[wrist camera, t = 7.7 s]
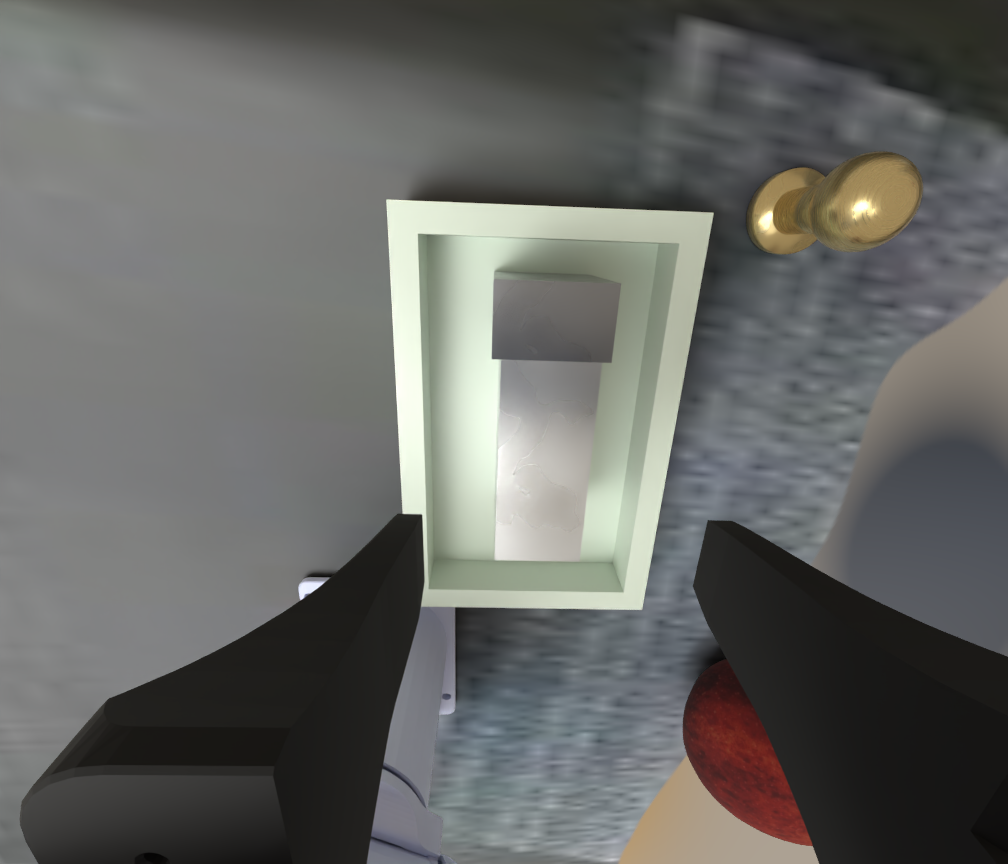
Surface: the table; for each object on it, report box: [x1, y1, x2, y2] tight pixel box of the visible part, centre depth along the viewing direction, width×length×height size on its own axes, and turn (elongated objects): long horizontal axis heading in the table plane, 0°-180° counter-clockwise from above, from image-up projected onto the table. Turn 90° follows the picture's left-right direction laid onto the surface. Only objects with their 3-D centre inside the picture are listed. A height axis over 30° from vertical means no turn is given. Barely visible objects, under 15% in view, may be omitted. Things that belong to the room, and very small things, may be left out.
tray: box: [387, 200, 714, 610], centre depth 20 cm, size 17×11×3 cm, turn 178°
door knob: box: [746, 151, 923, 254], centre depth 16 cm, size 3×3×6 cm
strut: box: [492, 271, 621, 562], centre depth 18 cm, size 10×4×5 cm, turn 178°
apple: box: [683, 659, 813, 846], centre depth 24 cm, size 7×8×8 cm
